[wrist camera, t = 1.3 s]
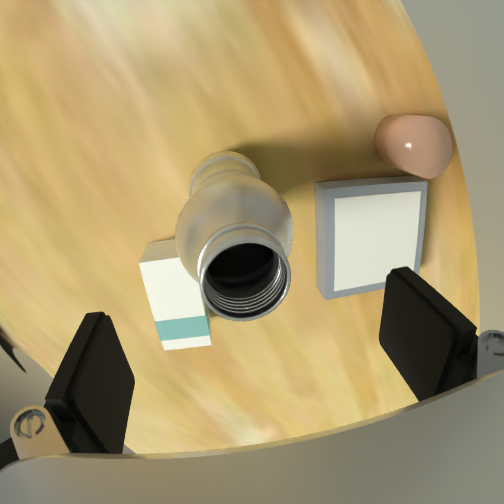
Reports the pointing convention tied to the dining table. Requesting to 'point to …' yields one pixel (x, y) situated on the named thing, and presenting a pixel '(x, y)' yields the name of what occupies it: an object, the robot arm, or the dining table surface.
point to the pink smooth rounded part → (414, 144)
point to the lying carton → (174, 298)
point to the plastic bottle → (235, 238)
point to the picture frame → (367, 231)
